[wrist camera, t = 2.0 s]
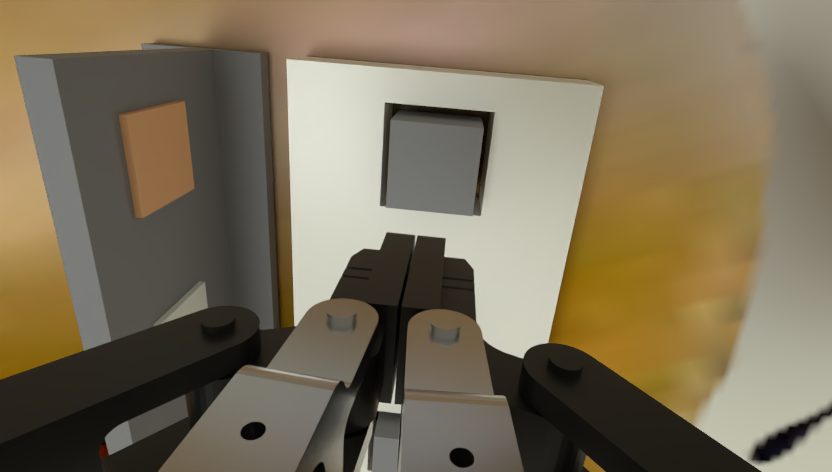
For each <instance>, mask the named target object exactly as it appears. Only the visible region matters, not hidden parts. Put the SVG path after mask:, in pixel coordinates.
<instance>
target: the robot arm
mask: <svg viewBox="0 0 832 472" xmlns="http://www.w3.org/2000/svg"><path fill="white" fill-rule="evenodd" d="M445 242H446V238H439V237H430V236H420V235H418V236H417V240H416V244H415V235H410V234H400V233H391V232H387V233H386V235H385V238H384V240H383V243H382V246H381V248H380V250H374V249H365V248H364V249H362V250H361V251H359V252H358V253H356V254H354V255H353V256H351V258H350V260H349V262H348V264H347V266H346V268H345V270H344V272H343V274H342V277H341V278H340V280H339V282H338V284H337V286H336V288H335V290H334V292H333V294H332V296H331V298H330V300H326V301H322V302H320V303H317V304H316V305H314V306H312V307H311V308H310V309H309V310H308V311H307V312H306V313H305V315H304V316H303V318H302V319H301V320H300V322H299V323H298V325H297V326H294V327H288V328H277V329H265V330H260V321H259V318H258V316H257V315H256V314H255V313H254V312H253V311H251V310H249V309H247V308H243V307H239V306H216V307H211V308H206V309H203V310H200V311H197V312H194V313H191V314H188V315H186V316H183V317H180V318H177V319H174V320H171V321H168V322H165V323H163V324H160V325H157V326H154V327H151V328H148V329H145V330H142V331H139V332H137V333H134V334H131V335H128V336H125V337H122V338H119V339H116V340H114V341H111V342H108V343H105V344H102V345H99V346H96V347H93V348H91V349H88V350H85V351H82V352H79V353H76V354H73V355H70V356H68V357H65V358H62V359H59V360H56V361H53V362H50V363H47V364H44V365H42V366H39V367H36V368H33V369H30V370H27V371H24V372H21V373H19V374H16V375H13V376H10V377H7V378H4V379H1V380H0V472H360V470H361V467H362V464H363V461H364V458H365V454H366V451H367V448H368V445H369V442H370V439H371V436H372V432H373V420H374V418H375V416H376V413H377V409H378V405H379V402H381V403H389V404H391V401H392V396H393V391H394V385H395V380H396V388H395V402H394V404H399V405H401V416H400V427H399V440H398V456H397V472H589V471H588V470H587V469H586V468H585V467H584V466H583V464H584V461H585V457H586V455H587V456H589V457H590V458H591V459H592V460H593V461H594V462H595V463H597V464H598V465H599V466H600V467H601V468H602V469H603V470H605V471H606V472H761V471H760V470H758V469H757V468H755V467H754V466H752V465H751V464H749V463H748V462H746V461H745V460H743V459H742V458H741V457H739V456H738V455H736V454H734V453H733V452H732V451H730V450H729V449H727V448H726V447H724V446H723V445H721V444H720V443H718V442H717V441H715V440H714V439H712V438H711V437H709V436H708V435H707V434H705V433H704V432H702V431H701V430H699V429H698V428H696V427H695V426H693V425H692V424H690V423H689V422H687V421H686V420H684V419H683V418H682V417H680V416H679V415H677V414H676V413H674V412H673V411H671V410H670V409H668V408H667V407H665V406H664V405H662V404H661V403H659V402H658V401H656V400H655V399H654V398H652V397H651V396H649V395H648V394H646V393H645V392H643V391H642V390H640V389H639V388H637V387H636V386H634V385H633V384H631V383H630V382H628V381H627V380H625V379H624V378H623V377H621V376H620V375H618V374H617V373H615V372H614V371H612V370H611V369H609V368H608V367H606V366H605V365H603V364H602V363H600V362H599V361H597V360H596V359H595V358H593V357H592V356H590V355H588V354H587V353H585V352H583V351H581V350H579V349H576V348H574V347H570V346H567V345H562V344H555V343H545V344H539V345H536V346H533V347H531V348H530V349H528V350H527V351H526V353H525V354H524V358H520V357H517V356H514V355H510V354H508V353H505V352H502V351H500V350H498V349H496V348H494V347H493V346H491V345H490V344H488V343H487V342H486V341H485V340H484V339H483V336H482V331H481V328H480V327H479V325H478V324H477V323H476V307H475V292H474V291H475V286H474V269H473V268H472V267H471V266H470V264H469V263H468V262H467V261H466V260H465V259H460V258H451V257H444V254H445ZM183 395H185V398H186V405H187V412H188V417H186V418H184V419H182V420H180V421H178V422H176V423H174V424H172V425H170V426H168V427H166V428H164V429H162V430H160V431H158V432H156V433H154V434H152V435H150V436H148V437H146V438H144V439H142V440H140V441H137V442H135V443H133V444H131V445H129V446H127V447H125V448H123V449H121V450H119V451H117V452H115V453H113V454H111V455H109V456H106V457H102V458H100V455H99V449H100V446H101V443H102V441H103V440H104V438H105V437H106V436H107V434H108V433H109V432H110V431H112V430H113V429H114V428H115V427H117V426H118V425H120V424H122V423H124V422H126V421H128V420H131V419H133V418H135V417H137V416H139V415H142V414H144V413H146V412H148V411H150V410H152V409H155V408H157V407H159V406H161V405H163V404H165V403H168V402H170V401H172V400H174V399H176V398H179V397H181V396H183Z"/></svg>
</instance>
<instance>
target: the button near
mask: <svg viewBox="0 0 832 472" xmlns="http://www.w3.org/2000/svg"><path fill="white" fill-rule="evenodd" d="M483 132H484V127H483V123H482V119H481V117H473V116H462V115H451V114H439V113H428V112H417V111H406V110H398V112H397V113H396V114H395V115H394V116H393V118H392V119H391V122H390V140H389V159H388V178H387V197H386V208H395V209H405V210H415V211H425V212H435V213H445V214H455V215H465V216H473V209H474V201H475V194H476V186H477V178H478V170H479V163H480V155H481V147H482V139H483Z"/></svg>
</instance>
